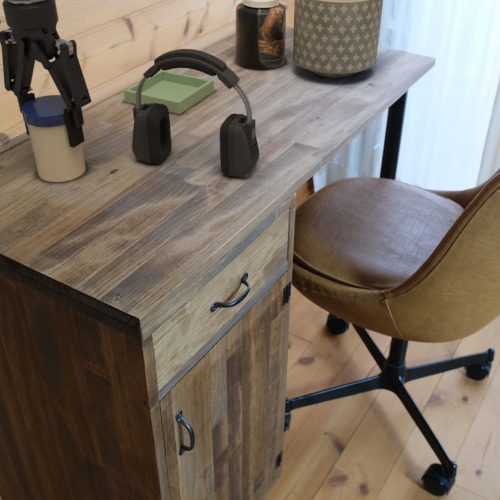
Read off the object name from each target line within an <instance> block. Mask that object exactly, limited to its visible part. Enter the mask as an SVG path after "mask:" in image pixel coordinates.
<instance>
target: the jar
mask: <svg viewBox="0 0 500 500" xmlns="http://www.w3.org/2000/svg"><path fill="white" fill-rule="evenodd" d="M286 31H287V11H286V7H285V5H284V4H282V3H281V2H280V0H242V1H241V2H240V3H238V4H237V5H236V6H235V62H236V64H237V65H239V66H240V67H243V68H246V69H250V70H259V71H260V70H261V71H263V70H264V71H265V70H274V69H277V68H280V67H282V66H283V65H284V64H285V61H286V38H287V37H286Z"/></svg>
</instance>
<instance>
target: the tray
mask: <svg viewBox="0 0 500 500" xmlns="http://www.w3.org/2000/svg"><path fill="white" fill-rule="evenodd" d="M214 81H215V80H213V79H209V78H203V77H199V76H194V75H189V74H184V73H179V72H176V71H175V72H174V71H170V70H165V71H164V70H162V69H161V70H160V71H159V72H158V73H156V74H155V75H154V76H153V77H151V78H148V79H146V81H145V83H144V85H143V87H142V92H141V104H142V105H143V104H144V103H147V104H150V103H159V104H164V105H166V106H167V108H168V111H169V113H172V114H176V115H180V114H183V113H184V112H185V111H187V110H189V109H190V108H191V107H193V106H194V105H196V104H197V103H199V102H201V101H202V100H203V99H204V98H206V97H208V96H209V95H212V93H214V92H215V83H214ZM139 83H140V81H138V82H137V83H135V84H133V85H131V86H129V87H127V88H126V89H124V90H123V93H124V103H130V104H134V105H136V91H137V87H138V85H139ZM138 103H139V102H138Z"/></svg>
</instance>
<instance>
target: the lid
mask: <svg viewBox="0 0 500 500" xmlns="http://www.w3.org/2000/svg"><path fill="white" fill-rule="evenodd" d="M72 100H73V98H72ZM65 108H67V106H66V104H65V102H64V100H63V98H62V96H61V94H49V95H43V96H38V97H37V96H36V97H35V98H34V99H32V100H29V101H27V102H26V103H25V104H24V105H23V106H22V113H21V114H22V120H23V122H24V121H25V122H26V123H27V124H29V125H32V126H37V127H52V126H59V125H63V124H66V122H65V116H64V111H63V109H65ZM25 122H24V123H25Z"/></svg>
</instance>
